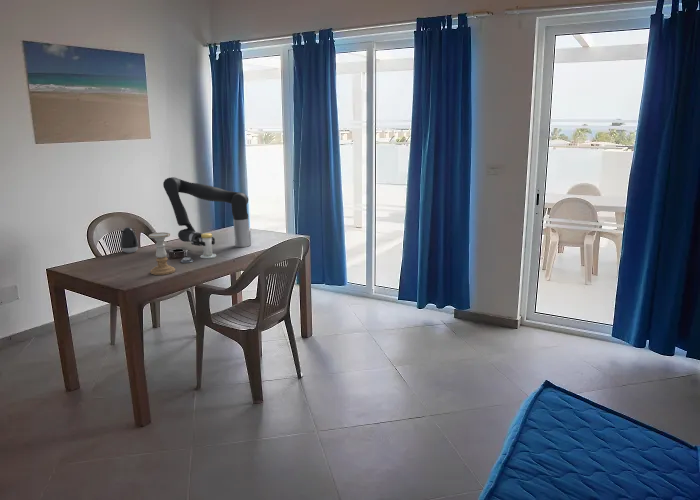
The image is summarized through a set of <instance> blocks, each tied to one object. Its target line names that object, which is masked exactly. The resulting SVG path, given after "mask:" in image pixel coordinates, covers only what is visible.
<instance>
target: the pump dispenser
mask: <svg viewBox="0 0 700 500" xmlns="http://www.w3.org/2000/svg"><path fill="white" fill-rule="evenodd" d="M120 233H121V235H120V239H119V241H120V242H119V245H120V246H119V247H120V249H121V250H122V252H123V253H126V254H129V253H130V254H131V253H135V252H136V251H137V250H138V248H139V241H138V238H137V235H136V233H135V231H134V230H133V228H131V227H124V229H120Z"/></svg>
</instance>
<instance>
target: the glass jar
mask: <svg viewBox="0 0 700 500" xmlns="http://www.w3.org/2000/svg"><path fill="white" fill-rule="evenodd" d="M212 237H213V234H212V233H206V232H205V233H204V232H203V233H202V234H201V238H202V241H203V242H205V246H202V251H203V252H202V253H203V254H202V255H205V256H209V255H212V254H214V253H213V244H212Z"/></svg>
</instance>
